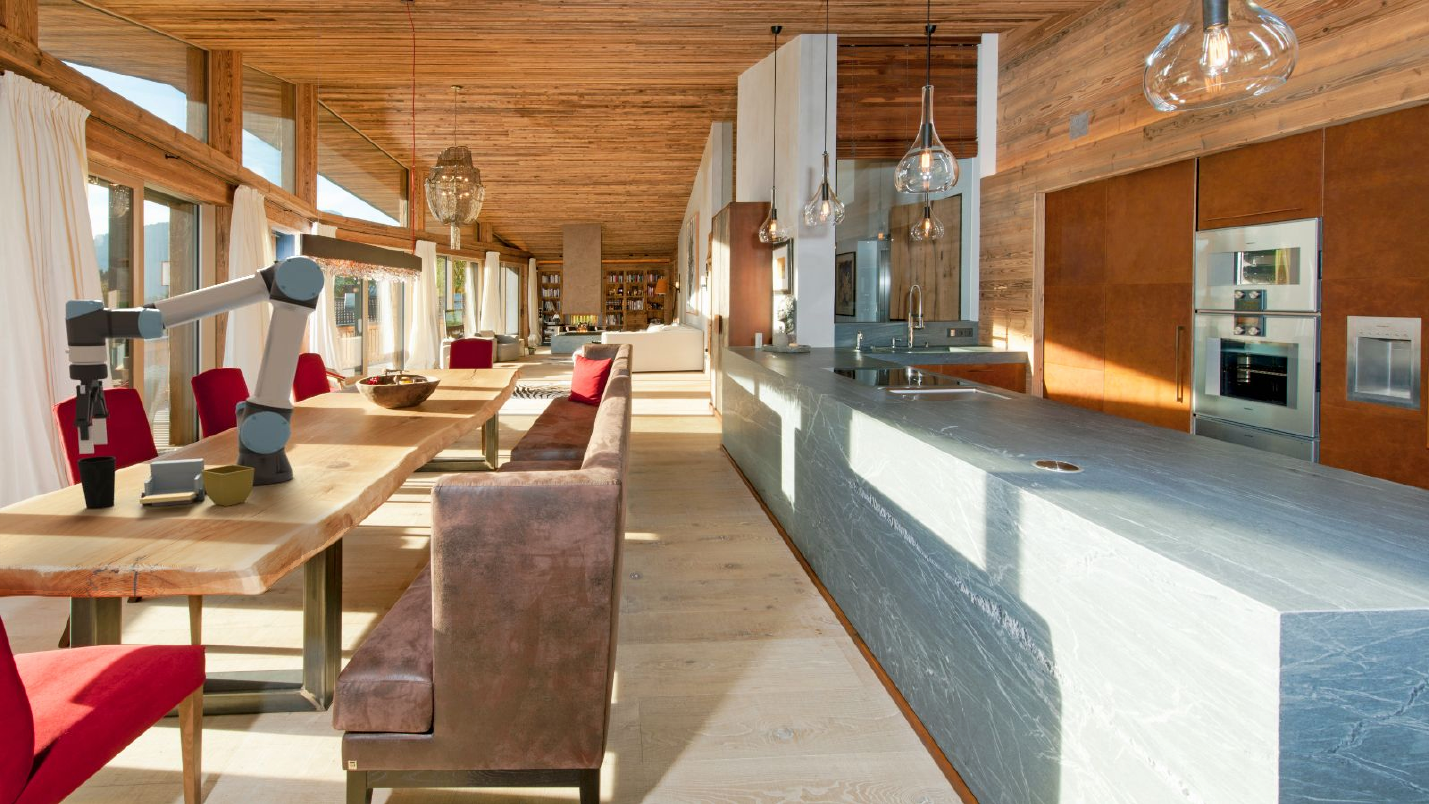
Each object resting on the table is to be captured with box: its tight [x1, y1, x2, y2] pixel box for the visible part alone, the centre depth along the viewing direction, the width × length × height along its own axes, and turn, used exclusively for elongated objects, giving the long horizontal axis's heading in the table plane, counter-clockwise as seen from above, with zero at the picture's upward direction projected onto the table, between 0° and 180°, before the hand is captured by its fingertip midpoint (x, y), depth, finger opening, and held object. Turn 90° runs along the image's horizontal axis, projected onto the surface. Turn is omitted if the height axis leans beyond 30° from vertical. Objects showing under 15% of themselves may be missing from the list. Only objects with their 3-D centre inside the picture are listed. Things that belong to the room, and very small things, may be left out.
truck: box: [140, 458, 207, 507], centre depth 215 cm, size 13×14×9 cm
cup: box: [76, 455, 117, 510], centre depth 207 cm, size 8×8×12 cm
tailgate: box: [139, 492, 197, 505], centre depth 205 cm, size 10×1×9 cm
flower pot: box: [201, 464, 254, 507], centre depth 211 cm, size 9×9×9 cm
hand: (93, 448), depth 205 cm, fingers open, 13 cm apart
